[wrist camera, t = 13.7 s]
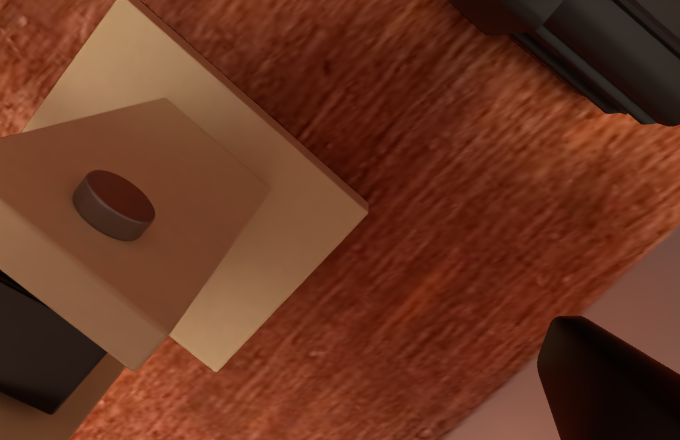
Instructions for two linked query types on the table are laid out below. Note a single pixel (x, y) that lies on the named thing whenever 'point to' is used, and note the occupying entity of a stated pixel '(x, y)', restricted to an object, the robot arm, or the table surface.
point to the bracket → (157, 209)
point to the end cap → (597, 48)
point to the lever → (40, 350)
